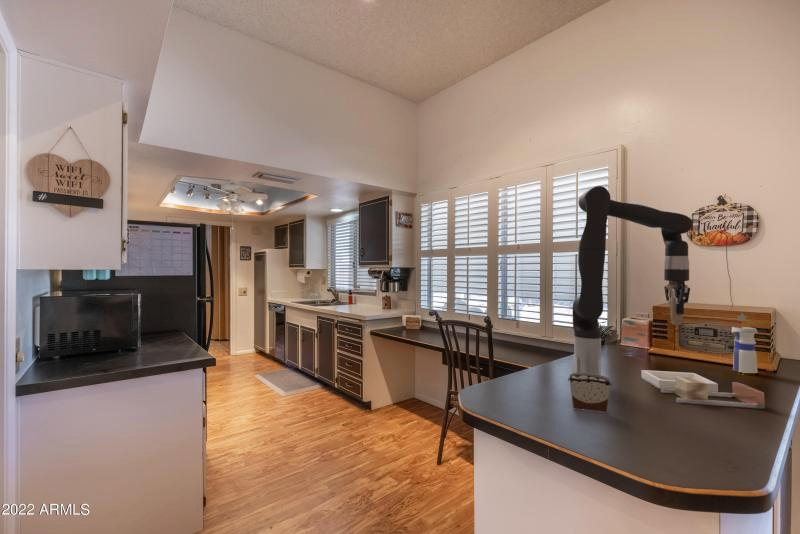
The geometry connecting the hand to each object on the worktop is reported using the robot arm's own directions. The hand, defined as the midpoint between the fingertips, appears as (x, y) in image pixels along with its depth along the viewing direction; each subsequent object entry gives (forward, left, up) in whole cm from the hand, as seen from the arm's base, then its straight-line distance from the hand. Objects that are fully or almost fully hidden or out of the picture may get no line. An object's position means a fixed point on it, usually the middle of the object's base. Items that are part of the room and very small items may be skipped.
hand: (676, 313), depth 136 cm
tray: (0, 0, -27) cm, 27 cm away
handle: (0, 0, -4) cm, 4 cm away
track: (+2, -16, -27) cm, 31 cm away
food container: (-40, -33, -27) cm, 58 cm away
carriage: (-3, -16, -27) cm, 32 cm away
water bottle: (+38, +27, -27) cm, 54 cm away
